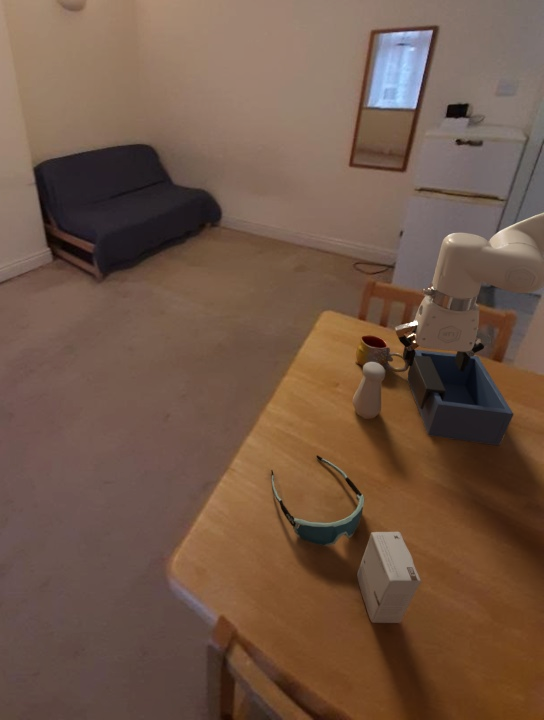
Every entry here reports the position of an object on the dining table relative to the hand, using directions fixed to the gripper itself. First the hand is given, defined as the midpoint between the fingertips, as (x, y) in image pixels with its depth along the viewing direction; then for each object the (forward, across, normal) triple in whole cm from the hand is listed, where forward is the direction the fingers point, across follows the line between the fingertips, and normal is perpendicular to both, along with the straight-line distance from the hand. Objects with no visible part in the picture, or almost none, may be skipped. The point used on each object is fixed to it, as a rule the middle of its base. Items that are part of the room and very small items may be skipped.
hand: (433, 364), depth 85 cm
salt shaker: (+12, -12, -4) cm, 18 cm away
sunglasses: (+12, -24, -26) cm, 38 cm away
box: (+12, +6, 0) cm, 13 cm away
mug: (+12, -6, +11) cm, 18 cm away
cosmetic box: (+12, -16, -39) cm, 44 cm away
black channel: (+8, 0, 0) cm, 8 cm away
